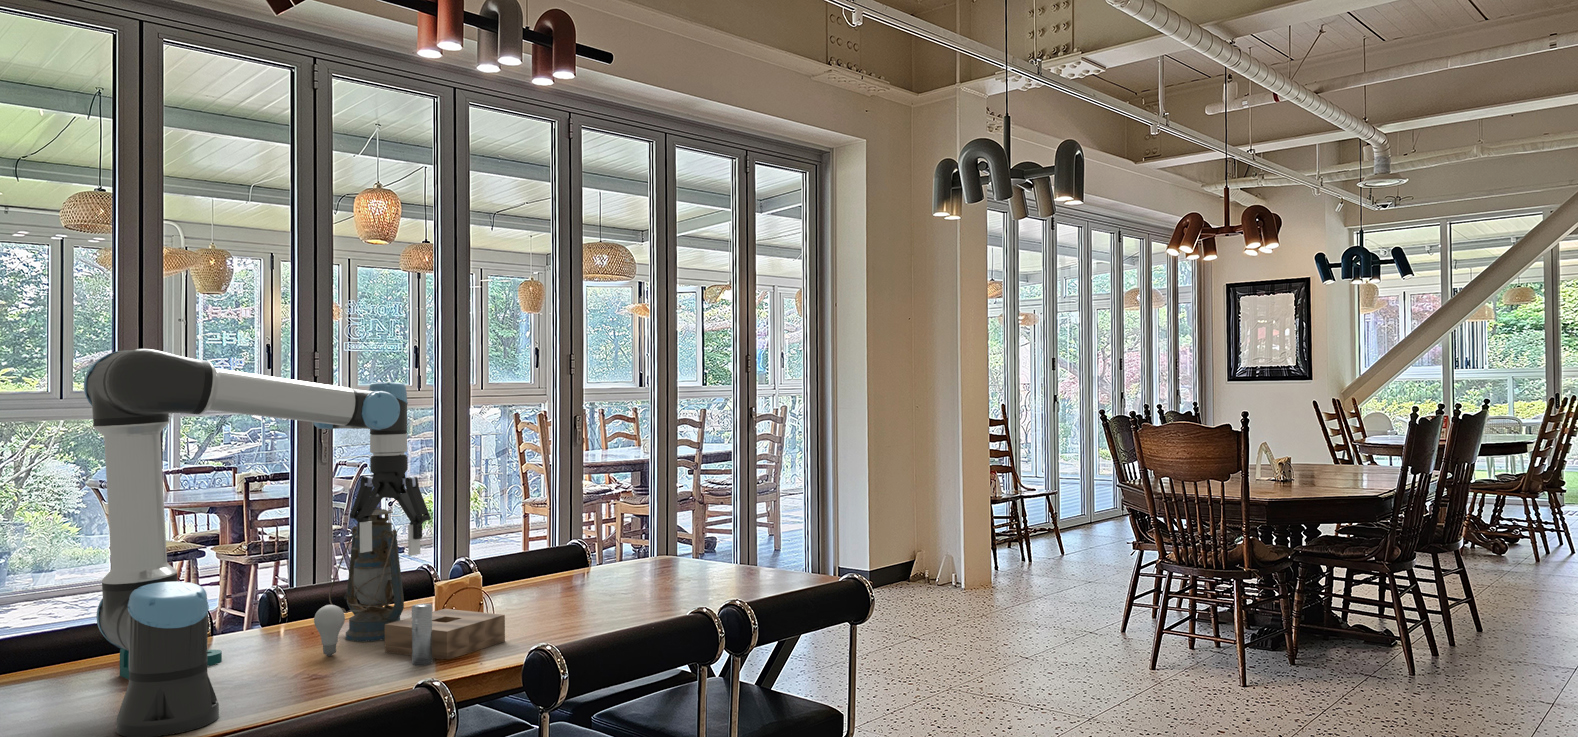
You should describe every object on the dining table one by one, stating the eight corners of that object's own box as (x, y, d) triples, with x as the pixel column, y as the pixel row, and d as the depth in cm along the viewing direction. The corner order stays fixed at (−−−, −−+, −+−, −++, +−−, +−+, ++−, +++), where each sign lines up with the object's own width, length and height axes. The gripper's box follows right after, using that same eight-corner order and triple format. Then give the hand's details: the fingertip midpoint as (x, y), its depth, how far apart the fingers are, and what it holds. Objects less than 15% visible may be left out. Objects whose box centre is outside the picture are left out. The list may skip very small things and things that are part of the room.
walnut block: (447, 659, 220) (446, 631, 220) (384, 651, 228) (384, 624, 228) (504, 641, 236) (504, 614, 236) (444, 634, 244) (444, 608, 244)
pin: (422, 666, 215) (421, 608, 215) (407, 664, 217) (407, 606, 217) (436, 661, 218) (436, 604, 219) (422, 660, 220) (422, 603, 220)
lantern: (425, 634, 245) (424, 506, 245) (373, 647, 232) (373, 512, 233) (370, 625, 254) (370, 503, 255) (318, 638, 242) (317, 508, 243)
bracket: (131, 682, 207) (132, 642, 207) (119, 676, 211) (119, 637, 211) (227, 663, 221) (227, 625, 221) (213, 658, 225) (213, 621, 225)
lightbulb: (333, 660, 221) (333, 608, 221) (307, 659, 222) (307, 607, 222) (350, 653, 227) (350, 602, 227) (326, 652, 228) (325, 601, 228)
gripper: (446, 453, 222) (447, 553, 221) (358, 452, 232) (359, 548, 231) (421, 455, 215) (422, 558, 215) (331, 454, 225) (332, 553, 224)
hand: (389, 553), depth 223 cm, fingers open, 13 cm apart
